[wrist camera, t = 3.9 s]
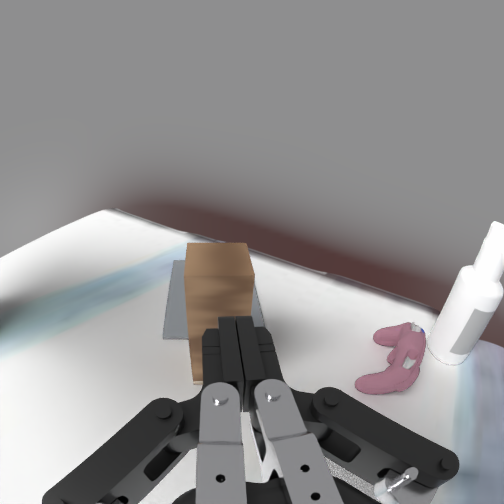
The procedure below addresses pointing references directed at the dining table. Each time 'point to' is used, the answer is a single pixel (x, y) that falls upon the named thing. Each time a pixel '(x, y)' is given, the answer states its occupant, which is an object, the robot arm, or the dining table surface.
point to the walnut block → (214, 291)
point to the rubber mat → (177, 306)
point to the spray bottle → (470, 302)
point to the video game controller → (396, 359)
